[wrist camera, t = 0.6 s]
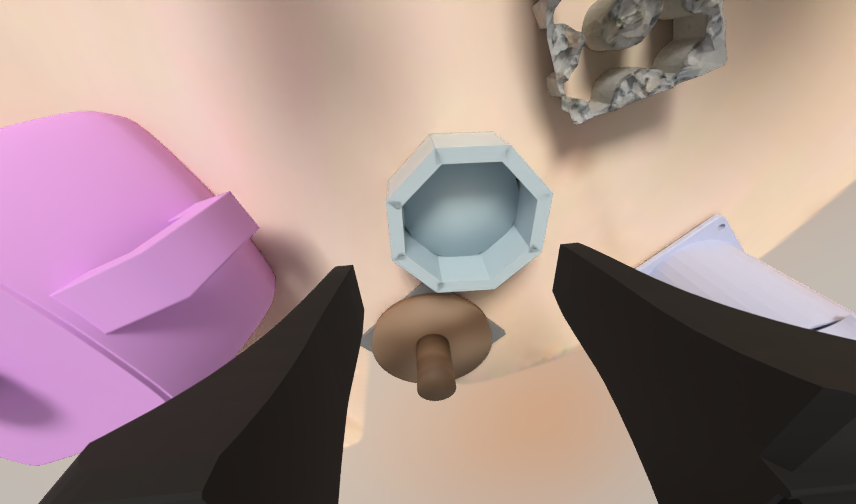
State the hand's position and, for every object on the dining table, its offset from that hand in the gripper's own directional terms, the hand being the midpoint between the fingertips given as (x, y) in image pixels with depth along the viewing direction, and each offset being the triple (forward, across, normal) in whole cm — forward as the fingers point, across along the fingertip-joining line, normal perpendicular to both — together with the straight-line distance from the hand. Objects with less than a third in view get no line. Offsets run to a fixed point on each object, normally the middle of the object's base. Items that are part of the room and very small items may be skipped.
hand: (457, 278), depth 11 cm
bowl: (+10, -2, +2) cm, 10 cm away
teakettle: (+10, +20, +2) cm, 22 cm away
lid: (+10, +1, +14) cm, 17 cm away
